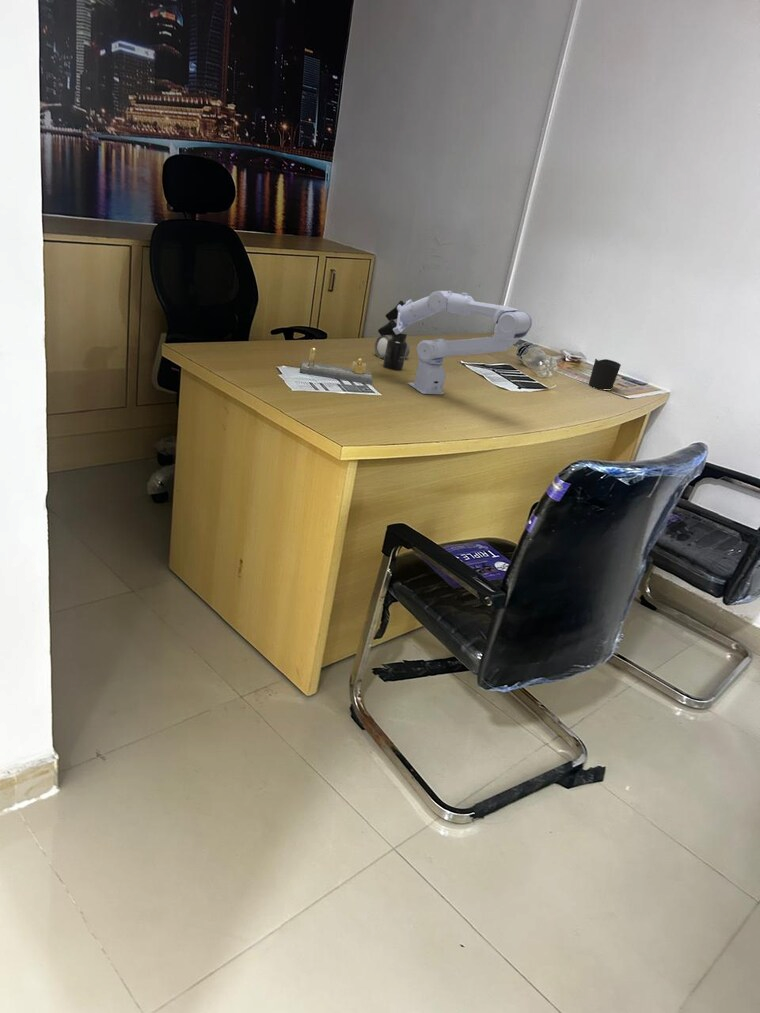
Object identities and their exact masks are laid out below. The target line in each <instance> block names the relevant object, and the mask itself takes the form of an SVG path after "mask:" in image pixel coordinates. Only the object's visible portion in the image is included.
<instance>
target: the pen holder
mask: <svg viewBox="0 0 760 1013" xmlns="http://www.w3.org/2000/svg"><path fill="white" fill-rule="evenodd" d="M621 366H622V365H621V363H620V362H618V361H614V360H611V359H606V358H605V359H599V360H598V359H597V358H595V359H594V363H593V367H592V370H591V374H590V377H589V382H588V385H589V387H591V386H592V387H591V388H593V387H595V388H597V389H596V390H599V389H611V388H612V389H613V387H614V385H615V382H616V380H617V376H618V374H619V371H620V369H621ZM595 388H594V389H595Z"/></svg>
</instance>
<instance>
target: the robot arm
mask: <svg viewBox="0 0 760 1013" xmlns="http://www.w3.org/2000/svg"><path fill="white" fill-rule="evenodd" d="M468 294H469V293H467V292H461V293H456V292H453V290H436V291H433V292H431V293H430V294H429V295H428V296H425V297H422V298H420V299H418V300H416V301H413V300H412V298H411V299H409V300H407V301H405V303H404V301H403V300H399V302H398V303H397V304H396V306H394V307H393V308H392V309H391V310H390V311H389V312H387V313H385V318H386V319H387V320H388V322H387V323H386V324H385V325H383V326H381V327H380V328H379V329H378V330H377V332H378V334H379V336H380V335H381V336H384V335H393V336H397V337H399V336H400V335H401V332H404V330H405V329H406V328H408V327H409V326H411V325H412V324H415V323H417V322H419V321H422V320H424V319H426V318H430V317H431V316H434V314H438V313H440V312H446V313H449V314H454V315H459V316H465V317H467V316H470V315H471V314H475V315H476V314H477V315H481V316H485V317H489V318H492V320H493V323H494V324H495V325H496V328H495V332H494V334H493V336H486V337H485V336H484V337H474V338H464V339H454V340H453V339H452V340H446V339H444V338H436V339H428V340H427V339H423V340H421V341H420V342H419V343H418V344H417V346H416V354H417V357H418V364H417V368H416V371H415V372H416V374H415V377H414V381H413V382H408V385H409V386H411V387H412V388H414V389H415V390H416V391H418V392H419V393H420V394H422V395H423V394H424V395H444V394H445V393H444V392H443V389H444V385H445V381H446V376H447V375H446V374H447V373H446V370H445V369H444V368H443V362H444V359H445V358H447V357H452V356H464V355H465V356H467V355H477V354H490V353H501V352H505V351H507V350H509V349H510V348H511V347H512V346H514V345H515V344H516V343H517V342H519V341H520V340H521V339H523V338H525V337H527V335H528V333H529V331H530V330H531V329H532V325H533V319H532V316H531V314H530V313H529V312H527V311H525V310H520V311H519V309H518V308H515V307H511V306H506V305H500V304H494V303H488V302H482V301H481V302H480V301H476V300H474V298H473V297H472V296H471V295H468ZM395 320H396V322H395Z"/></svg>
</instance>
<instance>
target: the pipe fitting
mask: <svg viewBox="0 0 760 1013" xmlns="http://www.w3.org/2000/svg"><path fill="white" fill-rule="evenodd" d="M390 338H392V336H391V335H384V336H381V335H380V334H379V336H378V337H377V338H376V341H375V343H374V353H375V355H376V357H378V358H379V359H384V357H385V352H386V347H387V342H388V340H389V339H390ZM405 341H406V342H407V338H406V339H405ZM410 352H411V346H410V344H409V342H407V350H406V355H405V359H406V358H407V357H408V356H409V355H410Z"/></svg>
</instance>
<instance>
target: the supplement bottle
mask: <svg viewBox="0 0 760 1013" xmlns="http://www.w3.org/2000/svg"><path fill="white" fill-rule="evenodd" d="M391 336H392V338H390V339H389V340H388V342H387V347H386V352H385V357H384V358H383V367H384V368H387V369H390V370H393V371H402V370H403V369H404V364H405V360H406V358H405V355H406V350H407V332H405V331H402V332H401V335H400V336H399V337H397V336H393V335H391ZM405 339H406V341H405Z"/></svg>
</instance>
